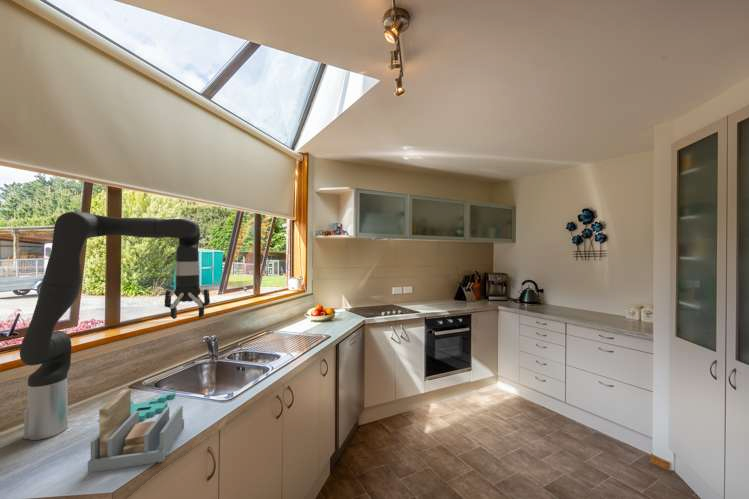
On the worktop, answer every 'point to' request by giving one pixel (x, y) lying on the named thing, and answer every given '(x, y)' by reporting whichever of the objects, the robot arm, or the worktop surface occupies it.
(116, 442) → the rack
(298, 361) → the worktop surface
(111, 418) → the light wooden flat slab
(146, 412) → the alien figure
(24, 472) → the worktop surface
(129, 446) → the offcut stack
